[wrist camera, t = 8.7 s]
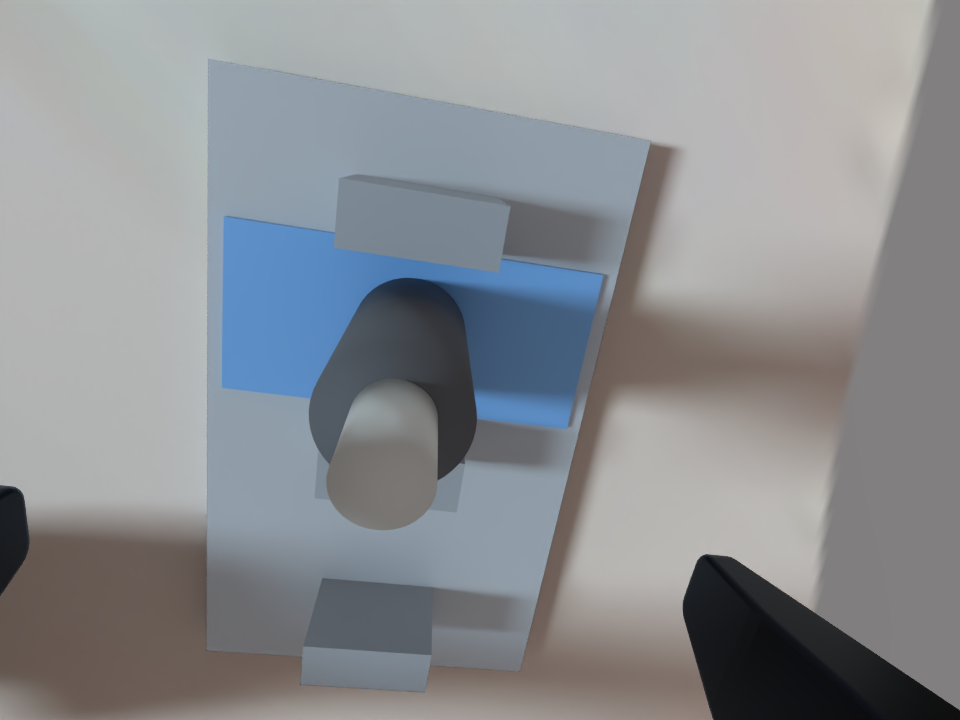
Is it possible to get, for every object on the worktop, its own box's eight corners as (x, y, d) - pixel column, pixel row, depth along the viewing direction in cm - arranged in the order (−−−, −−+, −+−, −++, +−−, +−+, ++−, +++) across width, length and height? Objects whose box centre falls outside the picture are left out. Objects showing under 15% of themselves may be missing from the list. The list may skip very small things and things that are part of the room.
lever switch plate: (216, 629, 22) (170, 727, 18) (222, 64, 15) (151, 35, 12) (516, 651, 23) (530, 745, 20) (638, 141, 17) (696, 137, 13)
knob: (348, 377, 17) (272, 559, 10) (358, 269, 16) (279, 375, 8) (456, 390, 18) (468, 576, 10) (473, 286, 17) (501, 402, 9)
